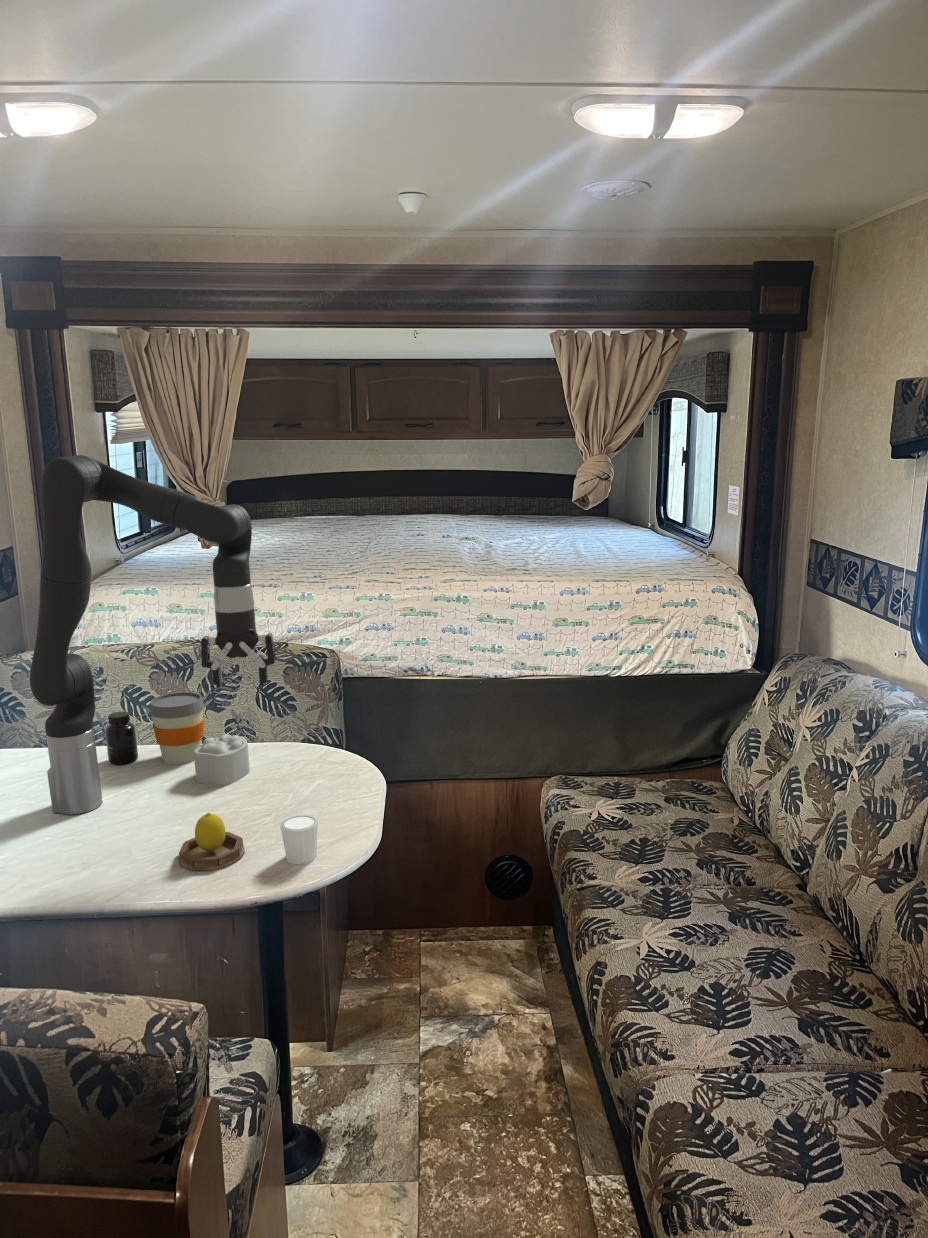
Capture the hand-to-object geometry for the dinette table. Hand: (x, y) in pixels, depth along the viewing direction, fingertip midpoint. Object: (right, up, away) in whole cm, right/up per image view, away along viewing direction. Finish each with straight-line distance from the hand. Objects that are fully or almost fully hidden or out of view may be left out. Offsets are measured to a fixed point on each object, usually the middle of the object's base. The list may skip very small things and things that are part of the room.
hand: (241, 685), depth 175 cm
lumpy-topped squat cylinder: (-11, -23, +28) cm, 38 cm away
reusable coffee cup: (-25, -21, +39) cm, 51 cm away
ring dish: (-3, -31, -11) cm, 33 cm away
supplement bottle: (-39, -22, +38) cm, 58 cm away
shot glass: (+15, -31, -12) cm, 37 cm away
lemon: (-3, -31, -11) cm, 33 cm away
